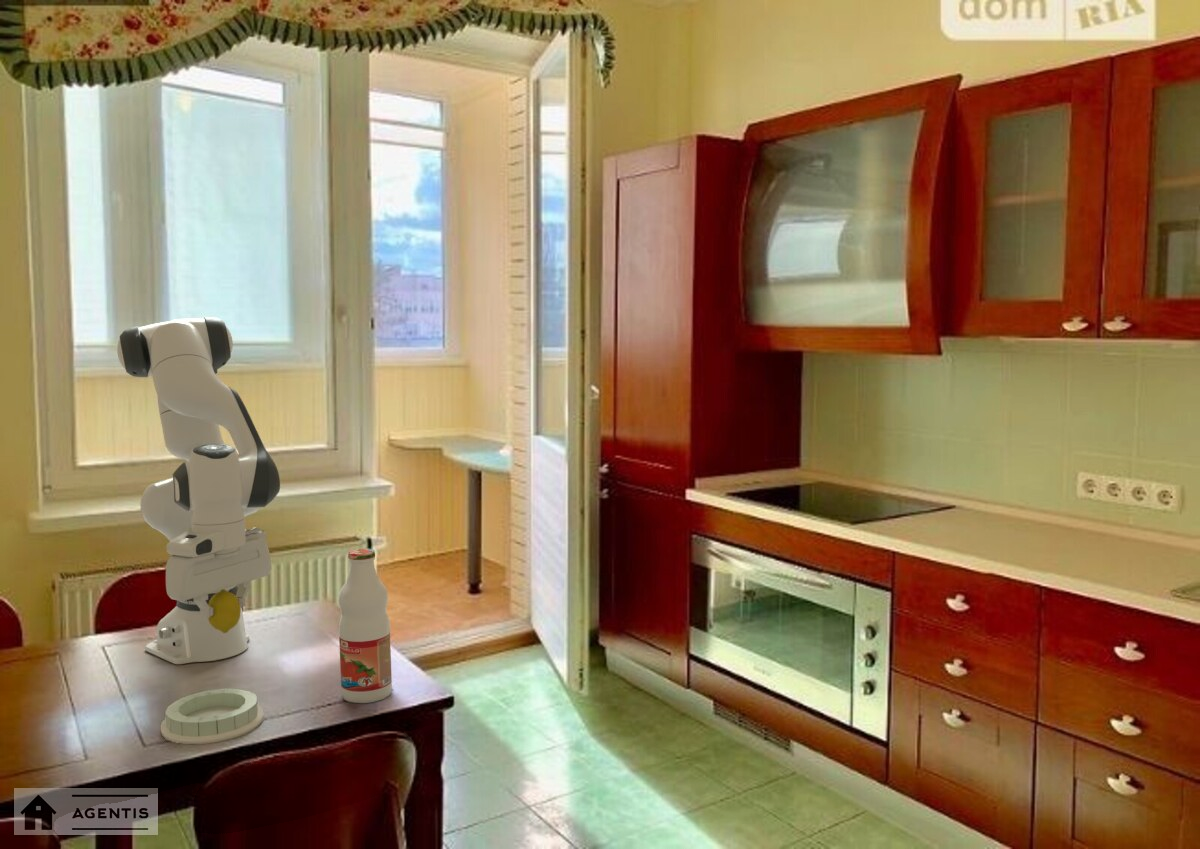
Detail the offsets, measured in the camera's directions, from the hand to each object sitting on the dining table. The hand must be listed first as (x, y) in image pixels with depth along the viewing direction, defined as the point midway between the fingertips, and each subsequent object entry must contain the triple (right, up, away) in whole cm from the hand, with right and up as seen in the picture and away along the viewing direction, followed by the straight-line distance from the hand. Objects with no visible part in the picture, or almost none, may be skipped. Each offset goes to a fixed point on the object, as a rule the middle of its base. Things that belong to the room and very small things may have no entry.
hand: (223, 612), depth 173 cm
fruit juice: (+23, -18, +12) cm, 31 cm away
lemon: (0, -4, 0) cm, 4 cm away
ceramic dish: (-2, -20, -1) cm, 20 cm away
